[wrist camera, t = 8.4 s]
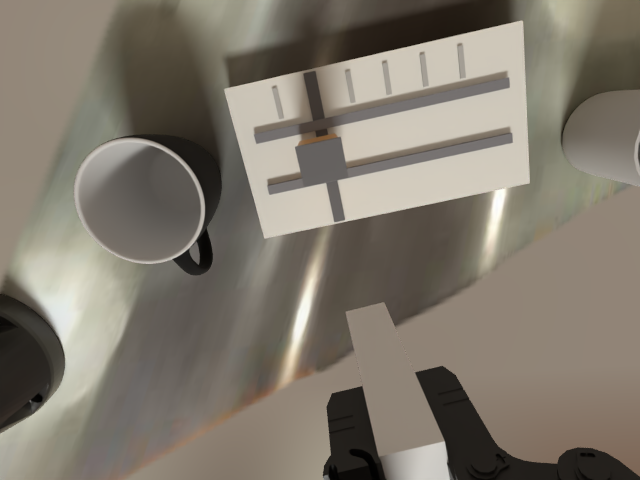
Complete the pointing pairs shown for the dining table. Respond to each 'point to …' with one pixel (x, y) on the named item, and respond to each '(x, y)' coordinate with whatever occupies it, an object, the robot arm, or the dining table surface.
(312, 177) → the fader cap
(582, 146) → the cup
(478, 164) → the console
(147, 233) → the mug
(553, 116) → the dining table surface
